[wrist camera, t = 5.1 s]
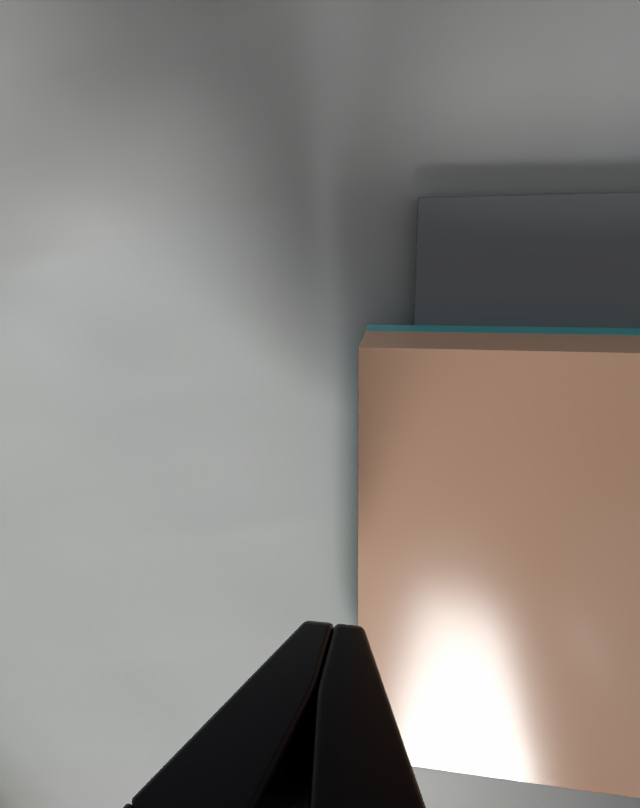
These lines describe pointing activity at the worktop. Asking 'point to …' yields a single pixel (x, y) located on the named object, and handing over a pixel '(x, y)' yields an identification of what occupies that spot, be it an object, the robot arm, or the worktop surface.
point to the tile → (504, 547)
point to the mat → (529, 261)
